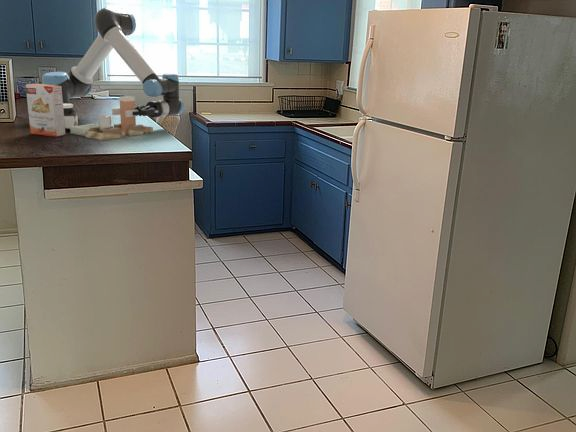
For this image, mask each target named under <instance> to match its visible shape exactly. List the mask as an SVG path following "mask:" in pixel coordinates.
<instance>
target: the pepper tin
mask: <svg viewBox="0 0 576 432" xmlns="http://www.w3.org/2000/svg"><path fill="white" fill-rule="evenodd" d="M97 117H98V120H97V121H98V124H99V133H103V129H111V126H112V118H111V117H112V116H111V115H108V114H107V115H105V114H102V115H98V116H97Z"/></svg>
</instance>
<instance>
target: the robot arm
mask: <svg viewBox="0 0 576 432" xmlns="http://www.w3.org/2000/svg"><path fill="white" fill-rule="evenodd" d="M94 26H95V29H96V31H97V32H98V35H97V37H96V38H95V39H94V41H93V43H92V44H91V46H90V47H89V48H88V49H87V51H86V53H85V54H84V55H83V57H82V59H80V61H79V62H78V64H77V66H72V67H71V69H70V70H69V71H68V73H67V72H65V71H54V72H53V71H51V72H45V73H44V74H42V76H41V84H45V85H55V86H62V97H63V104H71V103H70V99H76V98H78V99H79V98H83V97H86V96H88V95H89V94H90V93H91V92H92V89H93V82H94V78H93V77H94V75H95V74H96V73H97V71H98V70H99V68H100V67H101V65H102V64H103V62H104V61H105V60H106V58H107V57H108V56H109V54H110V53H111V52H112V51H113V49H114V50H115V52H116V53H117V54H118V55H119V56H120V58H121V59H122V60H123V62H124V63H125V64H126V65H127V67H128V68H129V69H130V70H131V72H133V74H134V75H135V76H136V77H137V78H138V80H139V81H140V82H141V83H142V89H143V93H144V94H145V95H146V96H148V97H154V98H157V97H160V96H162V99H159V100H152V101H151V100H150V101H148V102H147V103H146V105H145V104H143V105H135V110H128V111H125V115H126V117H133V116H135V117H141V116H142V117H146V116H148V117H149V118H152V119H153V118H154V119H156V118H159V117H160V118H163V117H169V116H176V115H177V116H178V115H181V114H182V113H184V110H185V104H184V101H183V100H182V99H180V81H179V80H180V79H179V75H178V74H176V73H163V74H162V75H161V77H162V78H160V77H159V76H158V75H157V74H156V73H155V72H154V70H153V68H151V66H149V64H148V63H147V61H146V60H145V59H144V58H143V56H142V55H141V54H140V53H139V51H138V50H137V49H136V48H135V46H134V45H133V44H132V43H131V42H130V40H129V38H128V37H127V36H131V35H132V34H133V33H134V32H135V31H136V28H137V27H136V26H137V23H136V18H135V16H134V15H133V13H132V12H131V11H129V10H127V9H124V8H112V7H103V8H100V9H99V10H98V11H97V12H96V13H95V16H94ZM111 115H112V116H120V107H119V108H112V109H111Z"/></svg>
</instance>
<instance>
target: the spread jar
mask: <svg viewBox="0 0 576 432" xmlns="http://www.w3.org/2000/svg"><path fill="white" fill-rule="evenodd" d="M63 109H64V121H65V133H68V132H69V133H71V132H70V127H72V126H79V125H78V124H79V121H78V119H79V117H78V113H77V111H76V109H74V104H73V103H70V104H63Z"/></svg>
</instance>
